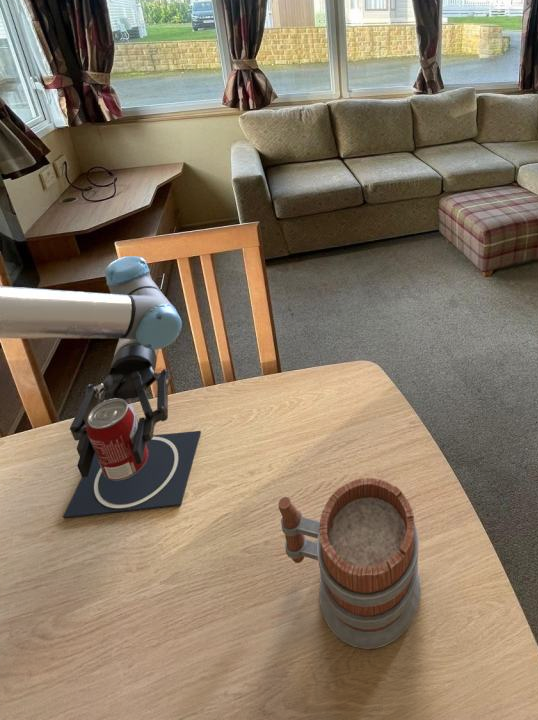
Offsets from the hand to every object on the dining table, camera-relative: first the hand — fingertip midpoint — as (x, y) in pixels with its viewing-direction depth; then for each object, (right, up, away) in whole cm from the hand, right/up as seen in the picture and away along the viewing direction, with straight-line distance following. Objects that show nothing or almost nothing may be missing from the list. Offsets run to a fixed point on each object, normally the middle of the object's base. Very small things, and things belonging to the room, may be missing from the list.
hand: (110, 464), depth 72 cm
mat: (-2, -7, +11) cm, 13 cm away
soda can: (-1, -4, +7) cm, 8 cm away
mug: (+37, -14, -4) cm, 40 cm away
